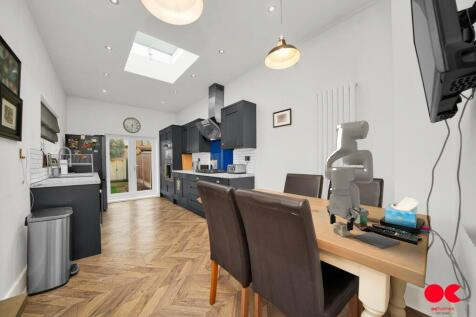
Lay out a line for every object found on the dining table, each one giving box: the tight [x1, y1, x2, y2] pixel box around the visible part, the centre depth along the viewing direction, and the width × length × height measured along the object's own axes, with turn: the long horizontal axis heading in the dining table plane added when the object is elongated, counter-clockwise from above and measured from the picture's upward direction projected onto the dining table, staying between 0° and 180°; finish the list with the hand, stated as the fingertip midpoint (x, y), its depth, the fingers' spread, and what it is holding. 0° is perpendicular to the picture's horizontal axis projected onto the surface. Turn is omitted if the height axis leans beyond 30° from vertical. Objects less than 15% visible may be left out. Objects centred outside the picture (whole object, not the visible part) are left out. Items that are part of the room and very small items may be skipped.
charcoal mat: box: [353, 231, 401, 250], centre depth 82 cm, size 12×12×1 cm
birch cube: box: [332, 221, 351, 238], centre depth 89 cm, size 5×5×5 cm
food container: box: [352, 206, 370, 231], centre depth 97 cm, size 12×6×10 cm, turn 168°
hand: (341, 226), depth 89 cm, fingers open, 9 cm apart
